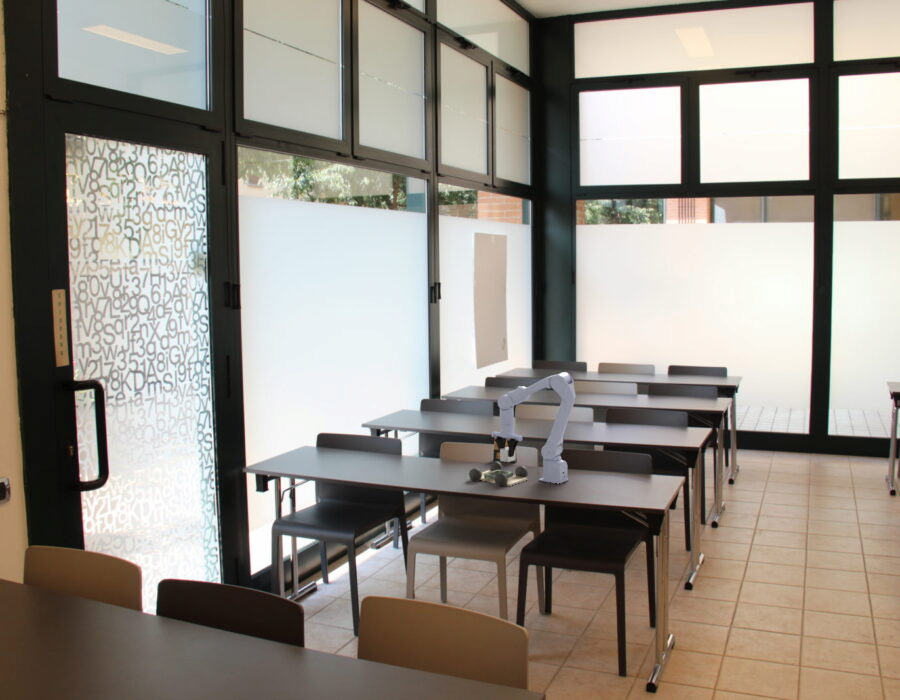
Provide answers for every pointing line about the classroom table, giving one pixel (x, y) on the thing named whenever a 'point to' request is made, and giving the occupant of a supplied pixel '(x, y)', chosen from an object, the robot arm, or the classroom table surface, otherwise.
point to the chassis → (500, 475)
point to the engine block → (506, 455)
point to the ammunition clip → (497, 453)
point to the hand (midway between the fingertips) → (506, 455)
